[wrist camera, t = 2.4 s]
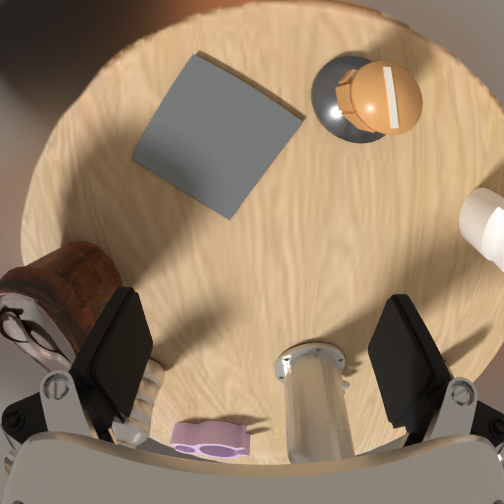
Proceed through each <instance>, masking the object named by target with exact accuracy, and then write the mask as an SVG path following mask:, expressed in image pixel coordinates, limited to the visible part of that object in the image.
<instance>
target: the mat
mask: <svg viewBox="0 0 504 504" xmlns="http://www.w3.org/2000/svg"><path fill="white" fill-rule="evenodd" d="M302 123H303V122H302V121H301V120H300V119H298V118H297V117H296V116H294V115H293V114H292V113H290V112H289V111H287V110H286V109H284V108H283V107H282V106H280V105H279V104H277V103H276V102H274V101H273V100H271V99H270V98H268V97H267V96H265V95H264V94H262V93H261V92H259V91H257V90H256V89H254V88H253V87H251V86H249V85H248V84H246V83H245V82H243V81H241V80H240V79H238V78H236V77H235V76H233V75H231V74H229V73H228V72H226V71H224V70H222V69H221V68H219V67H217V66H215V65H213V64H211V63H210V62H208V61H206V60H204V59H202V58H200V57H198V56H196V55H194V54H193V55H192V57H191V58H190V60H189V61H188V62H187V64H186V65H185V67H184V68H183V70H182V71H181V73H180V74H179V76H178V77H177V79H176V80H175V82H174V83H173V85H172V86H171V88H170V89H169V91H168V93H167V94H166V96H165V97H164V99H163V101H162V102H161V104H160V106H159V107H158V109H157V111H156V112H155V114H154V116H153V118H152V119H151V121H150V123H149V125H148V127H147V128H146V130H145V132H144V134H143V136H142V138H141V140H140V142H139V144H138V146H137V148H136V149H135V151H134V153H133V156H132V158H131V159H132V160H133V161H135V162H137V163H138V164H140V165H142V166H143V167H145V168H147V169H148V170H150V171H151V172H153V173H155V174H156V175H158V176H160V177H161V178H163V179H164V180H166V181H168V182H169V183H171V184H172V185H174V186H176V187H177V188H179V189H181V190H182V191H184V192H185V193H187V194H189V195H190V196H192V197H193V198H195V199H197V200H198V201H200V202H201V203H203V204H205V205H206V206H208V207H209V208H211V209H213V210H214V211H216V212H217V213H219V214H220V215H222V216H224V217H225V218H227V219H228V220H230V219H231V218H232V216H233V215H234V213H235V212H236V211H237V209H238V208H239V207H240V205H241V204H242V202H243V201H244V200H245V198H246V197H247V195H248V194H249V193H250V191H251V190H252V189H253V187H254V186H255V185H256V183H257V182H258V181H259V179H260V178H261V176H262V175H263V174H264V172H265V171H266V170H267V168H268V167H269V166H270V164H271V163H272V162H273V160H274V159H275V158H276V156H277V155H278V154H279V152H280V151H281V150H282V149H283V147H284V146H285V145H286V143H287V142H288V141H289V139H290V138H291V137H292V135H293V134H294V133H295V132H296V130H297V129H298V128H299V126H300V125H301V124H302Z"/></svg>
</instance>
